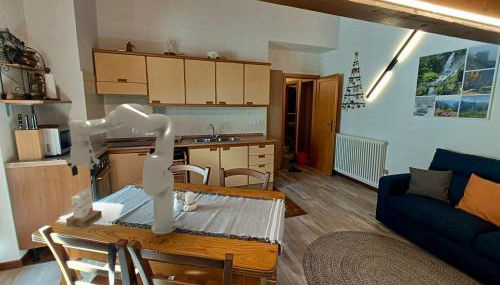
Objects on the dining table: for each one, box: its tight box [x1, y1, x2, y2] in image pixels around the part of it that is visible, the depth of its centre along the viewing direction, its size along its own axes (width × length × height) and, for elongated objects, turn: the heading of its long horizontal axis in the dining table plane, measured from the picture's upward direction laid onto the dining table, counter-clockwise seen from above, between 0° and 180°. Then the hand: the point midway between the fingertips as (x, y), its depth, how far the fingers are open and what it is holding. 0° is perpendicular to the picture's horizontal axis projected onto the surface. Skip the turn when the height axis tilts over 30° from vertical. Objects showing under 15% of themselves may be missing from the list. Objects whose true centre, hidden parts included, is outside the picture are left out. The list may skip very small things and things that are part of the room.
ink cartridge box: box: [70, 186, 94, 219], centre depth 125 cm, size 9×5×15 cm, turn 0°
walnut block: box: [65, 209, 103, 229], centre depth 127 cm, size 11×11×4 cm
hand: (84, 175), depth 124 cm, fingers open, 9 cm apart
